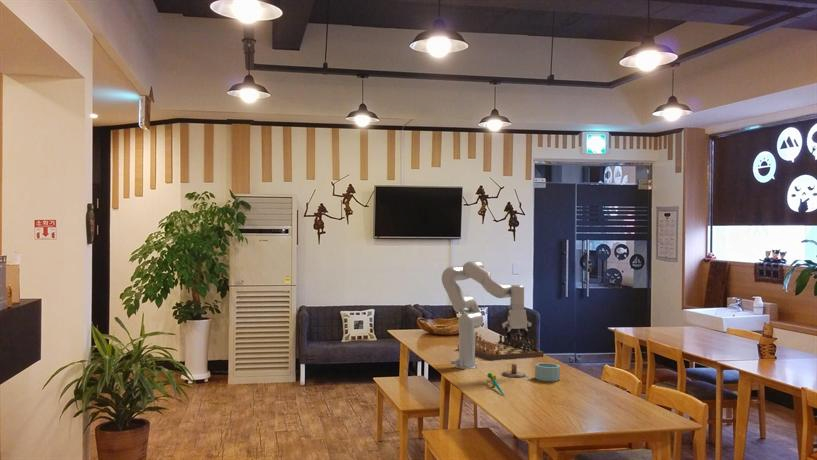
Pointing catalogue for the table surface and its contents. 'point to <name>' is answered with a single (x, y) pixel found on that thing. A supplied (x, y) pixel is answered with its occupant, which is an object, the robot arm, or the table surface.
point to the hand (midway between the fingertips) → (517, 338)
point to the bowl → (547, 372)
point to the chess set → (506, 348)
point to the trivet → (510, 377)
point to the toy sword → (494, 382)
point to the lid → (514, 372)
